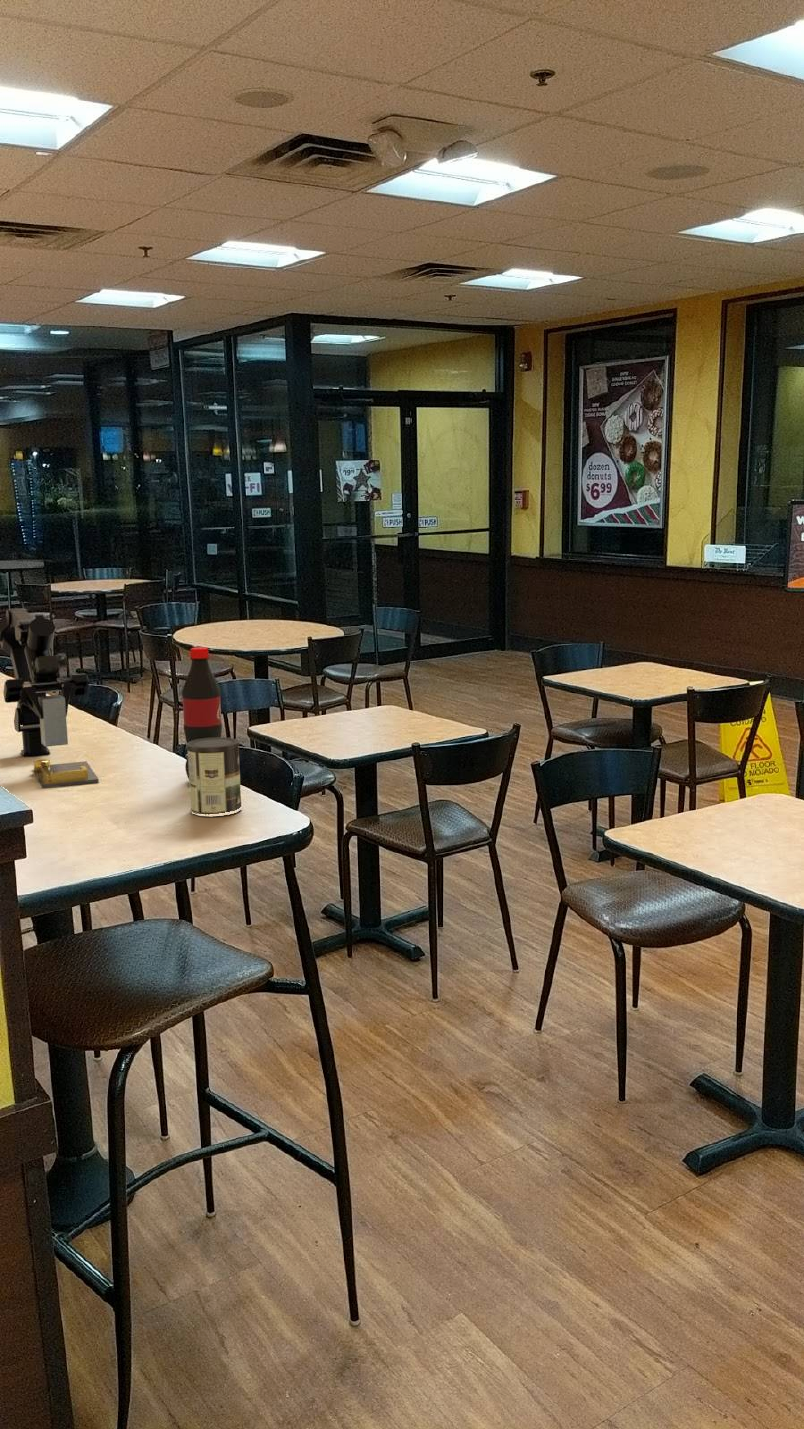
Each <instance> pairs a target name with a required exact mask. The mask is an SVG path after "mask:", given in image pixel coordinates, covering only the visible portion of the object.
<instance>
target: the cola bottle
mask: <svg viewBox="0 0 804 1429" xmlns="http://www.w3.org/2000/svg"><path fill="white" fill-rule="evenodd" d="M189 659H190V660H191V664H190V669H189V671H188V674H187V676H186V678H185V682H184V684H183V688H182V691H181V696H182V707H183V712H182V713H183V733H184V738H185V742H186V744H187V743H188V742H190V741H193V740H197V739H203V738H214V737H222V732H223V731H222V730H223V723H222V707H221V706H222V705H221V693H222V692H221V688H220V686H219V684H218V681H217V679H216V676H215V675H214V673H213V671H212V670H211V668H210V664H209V659H210V653H209V648H208V647H204V646H199V647H192V648H190V651H189ZM186 757H187V758H186V760H185V767H184V768H185V772H186V777H187V779H188V780H189V766H188V756H186Z"/></svg>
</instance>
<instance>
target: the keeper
mask: <svg viewBox="0 0 804 1429" xmlns="http://www.w3.org/2000/svg"><path fill="white" fill-rule="evenodd" d="M33 770H34V772H35V775H36V778H37V779H38V781H39V784H40V787H41V788H42V789H50V788H59V787H60V788H61V787H68V786H79V785H88V784H98V783H99V782H100V781H99V778H98V776H97V775H96V773H95V772H94V771H93V769H92V768H91V766H90V764H89V763H88V762H87V761H75V762H65V763H56V764H54V763H53V764H51V761H50V759H45V758H44V759H38V760H36V759H35V760H34V761H33Z"/></svg>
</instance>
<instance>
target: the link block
mask: <svg viewBox="0 0 804 1429" xmlns="http://www.w3.org/2000/svg"><path fill="white" fill-rule="evenodd" d="M38 700H39V704H40V707H41V709H42V713H43V719H40V728H41V742H42V744H43V745H44V746H45V747H47V748H48V747H57V746H66V745H69V741H68V724H67V717H66V707H65V697H63V696H62V694H55V695H46V696H41V697H38Z"/></svg>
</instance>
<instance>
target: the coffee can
mask: <svg viewBox="0 0 804 1429" xmlns="http://www.w3.org/2000/svg"><path fill="white" fill-rule="evenodd" d="M239 745H240V740H239V739H236V738H233V737H222V736H221V737H214V738H203V739H197V740H193V741H190V742H188V743H186V749H187V757H188V766H189V779H188V782H189V798H190V799H189V800H190V812H191V811H192V812H193V813H195V814H205V815H206V814H208V815H209V814H219V813H225V812H230V811H235V810H237V809H239V808H240V807H242V793H241V792H242V791H241V770H240V765H241V764H240V746H239Z"/></svg>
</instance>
